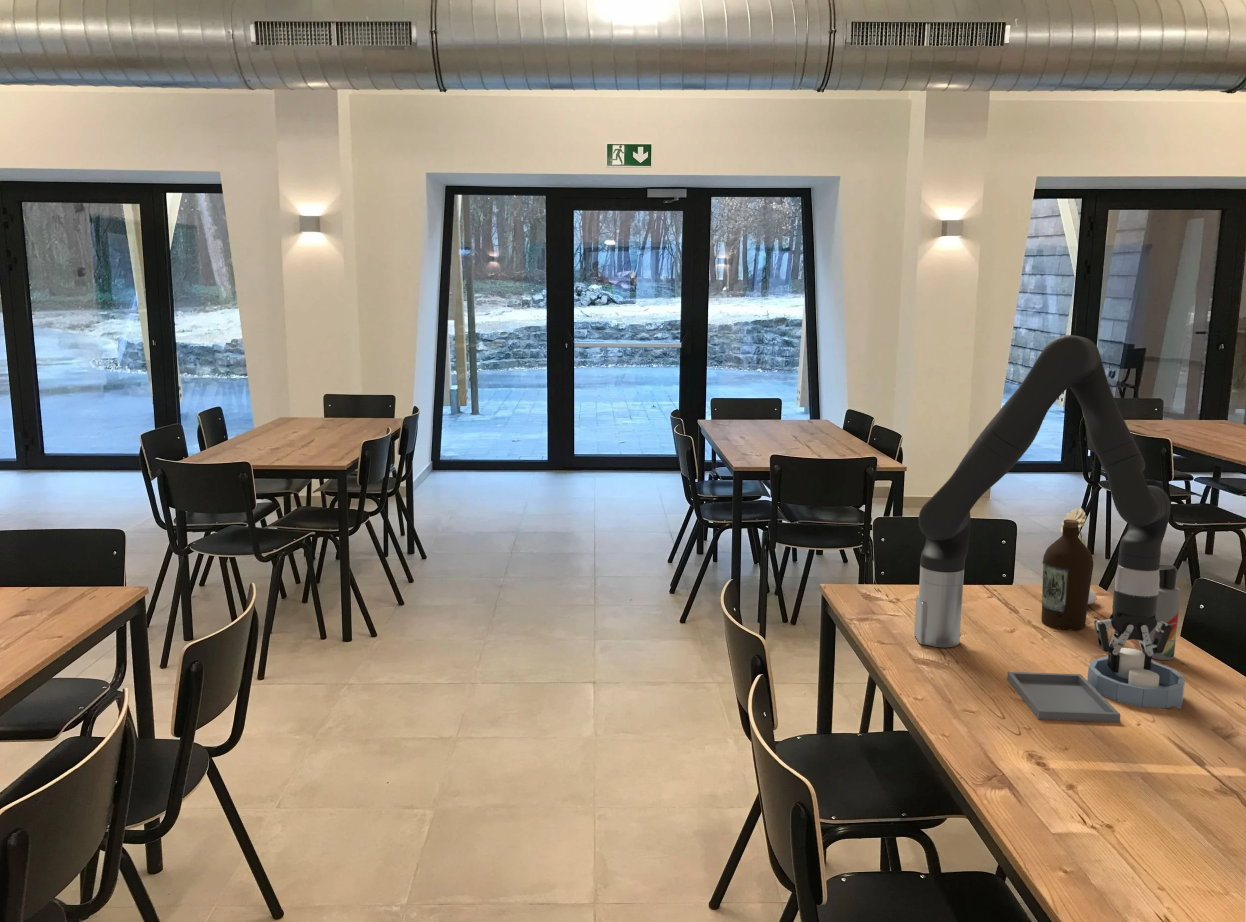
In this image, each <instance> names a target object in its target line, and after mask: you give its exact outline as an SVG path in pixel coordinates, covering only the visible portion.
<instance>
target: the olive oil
mask: <svg viewBox="0 0 1246 922" xmlns="http://www.w3.org/2000/svg"><path fill="white" fill-rule="evenodd" d="M1063 521H1064V526H1062V527H1063V533H1061V534H1062V535H1061V536H1059V537H1058V539H1056V540H1055V541H1054V542H1052V543H1051V544H1050V545H1049V546H1048V547H1047V548H1046V550H1045V552H1044V554H1043V558H1042V590H1041V591H1042V594H1041V617H1040V618H1041V622H1042V624H1044V625H1045V626H1048V627H1051V628H1053V629H1058V630H1063V631H1064V630H1065V631H1079V630H1082V629H1084V628H1086V623H1087V614H1088V606H1089V604H1088V599H1089V592H1090V589H1091V584H1092V577H1093V570H1094V558H1093V554H1092V553H1091V551H1090V549H1089V548H1088V546H1086V544H1085V545H1084V544H1083V543H1082V541H1081V538H1079V527H1078V525H1079V521H1077V520H1070V519H1067V520H1064V519H1063Z"/></svg>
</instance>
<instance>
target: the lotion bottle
mask: <svg viewBox="0 0 1246 922" xmlns="http://www.w3.org/2000/svg"><path fill="white" fill-rule="evenodd" d="M1176 567H1177V566H1175V565H1171V564H1160V566H1159V577H1160V581H1159V587H1160V588H1159V592H1158V602H1157V612H1156V615H1155V617H1156V620H1157V621H1160V622H1161V621H1165V622H1166V623H1168V624H1169V625H1171V626H1172V630H1171V633H1170V635H1169V638H1168V640H1167V643H1166V645H1165V648H1164V651H1163V652H1162V653H1156V654H1153V655H1152V659H1154V660H1159V661H1172V660H1173V659H1174V657H1175V651H1176V642H1177V640H1176V639H1177V631H1178V623H1179V622H1178V621H1179V613H1180V612H1179V610H1180V603H1181V593H1182V592H1181V589H1179V588H1178V587H1177V579H1178V569H1177V568H1176ZM1156 632H1157V631H1156V627H1155V628H1154V629H1153V630H1152V631H1151V632H1150V633H1149V636H1150V639H1151V643H1152V642H1153V639H1154V637H1155V634H1156Z"/></svg>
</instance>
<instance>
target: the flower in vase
mask: <svg viewBox="0 0 1246 922" xmlns="http://www.w3.org/2000/svg"><path fill="white" fill-rule="evenodd" d="M1086 518H1087V515H1086V512H1085V510H1084V509H1083V508H1082V507H1081V508H1080V509H1078V508H1077V507H1076V508H1074V509H1072V510H1071V511H1070V512H1067V513H1066V516H1064V517H1063V521H1062V522H1061V523H1060V526H1061V527H1060V534H1062V533H1063V526H1064V520H1067V519H1070V520H1077V521H1079V525H1078V527H1079V532H1078V534H1079V537H1080V540H1081V541H1082V543H1083V544H1084V545H1085V546H1086V539H1083V534H1082V531H1081V528H1083V527H1084V525H1085V522H1086ZM1097 600H1098V596H1097V594H1096V593H1095V591H1093V590H1092V588H1090V592H1089V599H1088V605H1091V604H1094V603H1095V602H1096V601H1097Z"/></svg>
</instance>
